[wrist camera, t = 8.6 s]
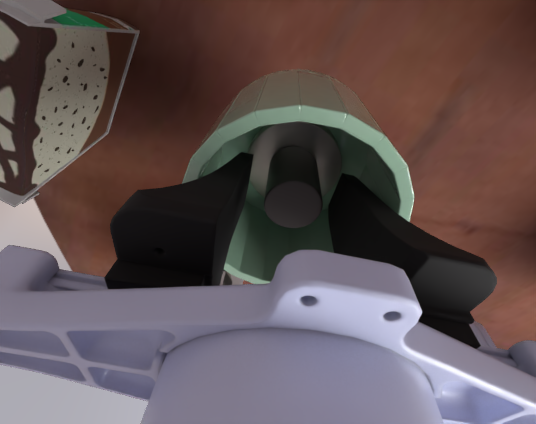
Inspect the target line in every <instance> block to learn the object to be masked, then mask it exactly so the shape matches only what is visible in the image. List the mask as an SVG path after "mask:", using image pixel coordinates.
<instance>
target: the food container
mask: <svg viewBox="0 0 536 424" xmlns="http://www.w3.org/2000/svg"><path fill="white" fill-rule="evenodd" d="M139 33H140V30H138V29H137V28H135V27H134V26H132V25H130V24H129V23H127V22H125V21H124V20H121V19H117V18H114V17H111V16H107V15H104V14H100V13H93V12H87V11H81V10H74V9H68V8H63V7H62V6H60V5H58V4H57V3H55V2H53V1H52V0H0V200H1V201H3V202H5V203H7V204H9V205H11V206H13V207H16V206H17V205H19V204H20V203H22V204H23V203H25V202H27V201H29V200H30V199H32V198H34V197H35V196H37V195H39V192H37V190H38V189H39V188H41V187H42V186H43V185H44V184H46V183H47V182H48V181H49V180H51V179H52V178H53V177H54V176H56V175H57V174H58V173H60V172H61V171H62V170H63V169H65V168H66V167H67V166H68V165H70V164H71V163H72V162H73V161H75V160H76V159H77V158H78V157H80V156H81V155H82V154H84V153H85V152H86V151H87V150H89V149H90V148H91V147H92V146H94V145H95V144H96V143H97V142H99V141H100V140H101V139H102V138H104V137H105V136H106V135H107V134H108V133H109V130H110V127H111V124H112V120H113V117H114V114H115V111H116V107H117V104H118V101H119V98H120V94H121V91H122V88H123V85H124V81H125V78H126V75H127V72H128V68H129V65H130V62H131V59H132V55H133V52H134V49H135V46H136V42H137V39H138V36H139Z"/></svg>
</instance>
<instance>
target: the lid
mask: <svg viewBox="0 0 536 424" xmlns="http://www.w3.org/2000/svg"><path fill="white" fill-rule="evenodd" d="M248 153H249V154H254V156H253V162H252V168H251V174H250V182H251V184H252V185H253V187H254V188H255V189H256V191H257V192H258V193H259V194H261V195H262V196H263V197H264V209H265V212H266V214H267V216H268V217H269V218H270V219H271V220H272V221H273V222H274V223H276V224H278V225H280V226H283V227H286V228H300V227H304V226H307V225H309V224H311V223H312V222H314V221H315V220H316V219H317V218H318V216H319V215H320V213H321V211H322V208H323V200H322V197H323V196H325V195H326V194H327V193H328V192H329V191H330V190H331V189H332V188H333V186H334V185H335V183H336V182H337V180H338V178H339V175H340V172H341V167H342V157H341V152H340V149H339V146H338V143H337V141H336V139H335V137H334V136H333V134H332V133H331V132H330V131H329V130H328V129H327V128H326V127H325V126H323V125H319V124H313V123H308V122H302V121H296V122H288V123H280V124H273V125H266V126H264V127H263V128H262V129H261V130H260V131H259V132H258V133H257V134H256V135H255V137H254V138H253V140H252V142H251V144H250V147H249V150H248Z"/></svg>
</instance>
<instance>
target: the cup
mask: <svg viewBox="0 0 536 424" xmlns="http://www.w3.org/2000/svg"><path fill="white" fill-rule="evenodd" d="M296 121H302V122H308V123H313V124H319V125H323V126H325V127H326V128H327V129H328V130H329V131H330V132H331V133H332V134H333V136H334V137H335V139H336V141H337V143H338V146H339V149H340V152H341V157H342V167H341V172H340V175H339V178H338V180H337V182H336V183H335V185H334V186H333V188H332V189H331V190H330V191H329V192H328V193H327V194H326V195H325V196H323V197H322V200H323V208H322V211H321V213H320V215H319V216H318V218H317V219H316V220H315V221H314V222H312V223H311V224H309V225H307V226H304V227H300V228H286V227H283V226H280V225H278V224H276V223H274V222H273V221H272V220H271V219H270V218H269V217H268V216H267V214H266V212H265V209H264V197H263V196H262V195H261V194H259V193H258V192H257V191H256V189H255V188H254V187H253V185H252V184H251V182H250V180H249V186H248V191H247V195H246V200H245V204H244V207H243V210H242V212H241V215H240V218H239V220H238V223H237V226H236V228H235V231H234V234H233V236H232V239H231V243H230V246H229V250H228V254H227V258H226V262H225V266H224V270H225V271H227V272H228V273H230V274H231V275H233V276H235V277H237V278H240V279H243V280H245V281H248V282H251V283H253V284H268V283H270V282H271V281H272V279H273V277H274V274H275V271H276V268H277V265H278V264H279V263H280V261H281V260H282V259H283V258H284V256H286V255H288V254H291V253H293V252H296V251H298V250H321V251H326V252H331V253H334V250H333V245H332V239H331V234H330V228H329V221H328V205H329V203H330V200H331V198H332V196H333V193H334V191H335V188H336V186H337V184H338V181H339V179H340V176H341V174H342V173H344V174H349V175H354V176H355V177H357V178H358V179H359V180H360V181H361V182H362V183H363V184H365V185H366V186H367V187H368V188H369V189H370V190H371V191H372V192H373V193H374V194H375V195H376V196H377V197H378V198H379V199H381V200H382V201H383V202H384V203H385V204H386V205H387V206H389V207H390V208H391V209H392V210H394V211H395V212H396V213H397V214H399V215H400V216H402V217H403V218H404V219H406V220H407V221H409V222H410V217H411V213H412V208H413V203H414V191H413V187H412V182H411V178H410V173H409V168H408V166H407V163H406V162H405V161H404V159H403V158H402V156H401V155H400V154H399V152H398V151H397V149H396V148H395V147H394V145H393V144H392V143H391V141H390V140H389V138H388V137H387V136H386V134H385V133H384V131H383V130H382V129H381V127H380V126H379V125H378V123H377V122H376V120H375V119H374V118H373V116H372V115H371V113H370V112H369V111H368V109H367V108H366V107H365V105H364V104H363V103H362V101H361V100H360V99H359V97H358V96H357V95H356V93H354V92H353V91H352V90H351V89H349V88H348V87H347V86H346V85H345V84H343V83H342V82H340V81H338V80H337V79H335V78H333V77H331V76H328V75H326V74H323V73H319V72H315V71H311V70H301V69H294V70H283V71H278V72H274V73H271V74H268V75H265V76H263V77H260V78H259V79H257V80H255V81H253V82H251V83H250V84H249V85H247V86H246V87H244V88H243V89H242V90H241V91H240V92H239V93H238V94H237V95H236V96H235V97H234V98H233V99H232V100H231V102H230V103H229V104H228V105H227V107H226V108H225V109H224V110H223V111H222V113H221V114H220V116H219V117H218V119H217V120H216V122H215V123H214V125H213V126H212V128H211V129H210V131H209V132H208V133H207V135H206V136H205V138H204V139H203V141H202V142H201V144H200V145H199V147H198V148H197V150H196V151H195V153H194V154H193V156H192V157H191V159H190V162H189V164H188V167H187V170H186V173H185V176H184V178H183V181H182V184H183V183H186V182H189V181H193V180H196V179H199V178H201V177H203V176H206V175H208V174H210V173H212V172H214V171H215V170H217V169H219V168H220V167H222V166H223V165H225V164H226V163H227V162H229V161H230V160H231V159H233V158H234V157H235V156H236V155H238V154H239V153H240V152H244V153H248V150H249V147H250V144H251V142H252V140H253V138H254V137H255V135H256V134H257V133H258V132H259V131H260V130H261V129H262V128H263V127H264V126H266V125H273V124H280V123H288V122H296Z"/></svg>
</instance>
